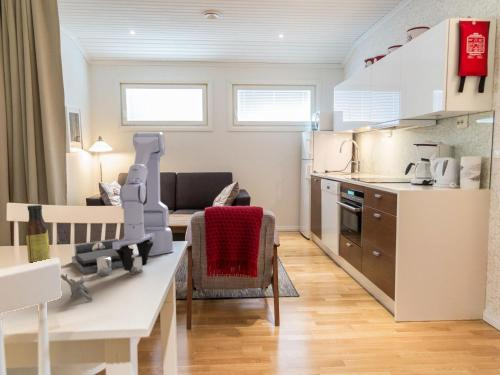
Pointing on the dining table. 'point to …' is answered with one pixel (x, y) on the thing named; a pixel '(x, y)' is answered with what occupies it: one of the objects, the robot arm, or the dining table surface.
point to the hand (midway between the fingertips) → (135, 267)
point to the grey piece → (77, 287)
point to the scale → (91, 248)
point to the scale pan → (97, 255)
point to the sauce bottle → (37, 235)
